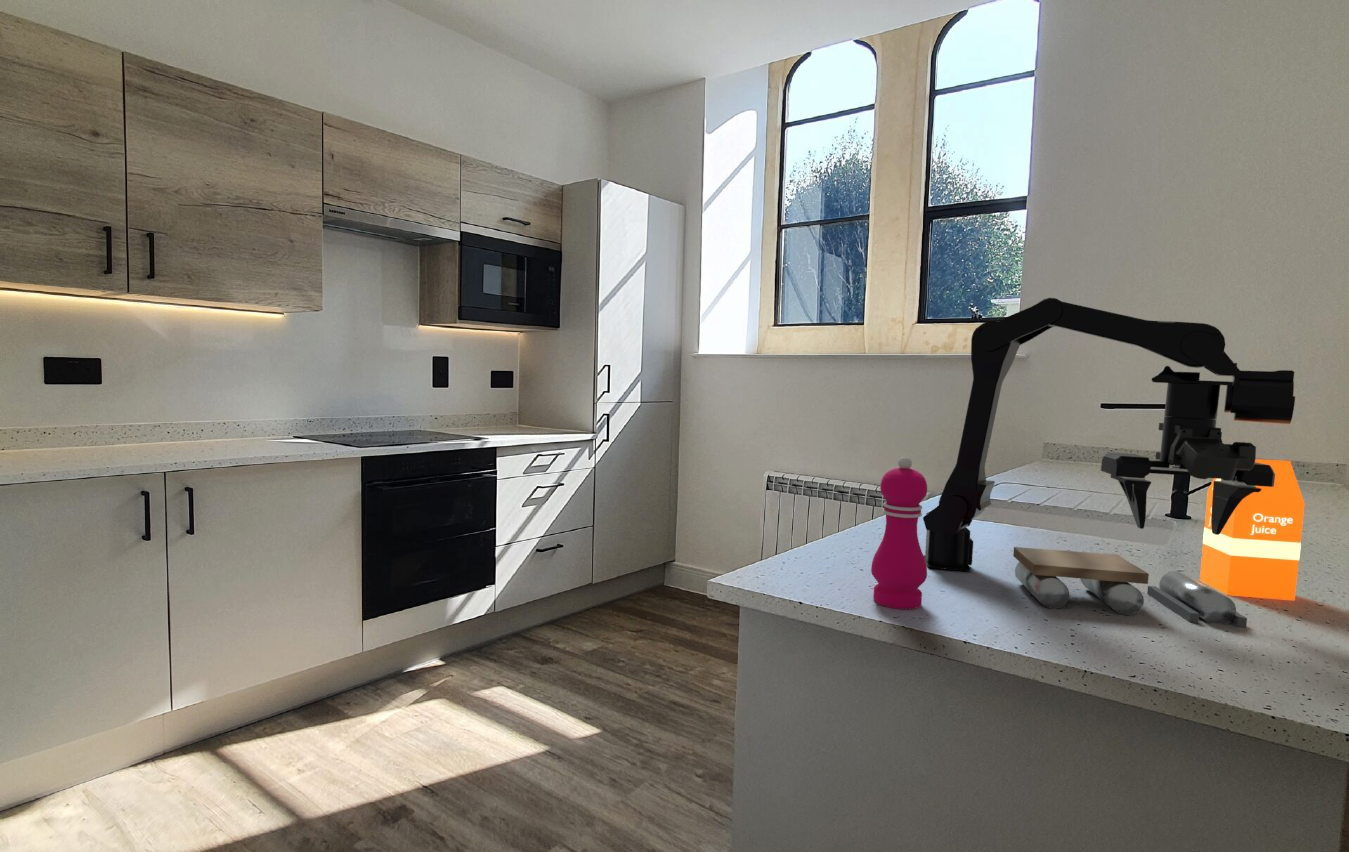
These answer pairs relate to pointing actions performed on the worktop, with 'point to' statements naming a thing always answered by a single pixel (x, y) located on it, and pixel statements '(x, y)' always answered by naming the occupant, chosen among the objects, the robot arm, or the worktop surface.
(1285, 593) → the orange juice
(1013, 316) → the robot arm
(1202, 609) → the loose roller
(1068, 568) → the walnut slab
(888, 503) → the pepper mill
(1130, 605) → the track rollers
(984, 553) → the worktop surface
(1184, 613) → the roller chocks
